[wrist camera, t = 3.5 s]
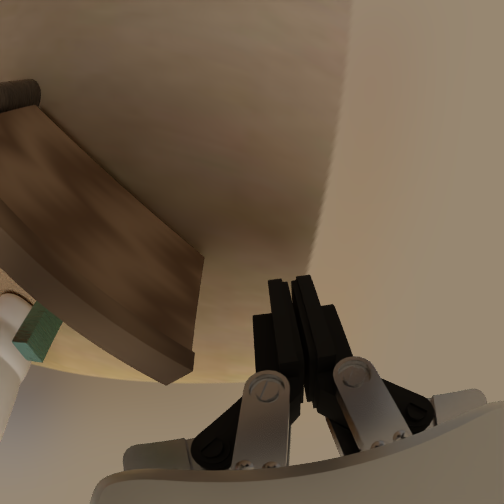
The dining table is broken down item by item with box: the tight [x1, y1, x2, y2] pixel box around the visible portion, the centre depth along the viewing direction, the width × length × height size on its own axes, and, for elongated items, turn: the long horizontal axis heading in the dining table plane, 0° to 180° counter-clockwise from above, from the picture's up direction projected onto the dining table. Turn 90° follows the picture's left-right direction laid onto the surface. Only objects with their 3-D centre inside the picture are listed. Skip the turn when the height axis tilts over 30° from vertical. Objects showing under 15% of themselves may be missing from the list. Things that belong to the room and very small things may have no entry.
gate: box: [0, 105, 204, 385], centre depth 12 cm, size 16×2×9 cm, turn 42°
